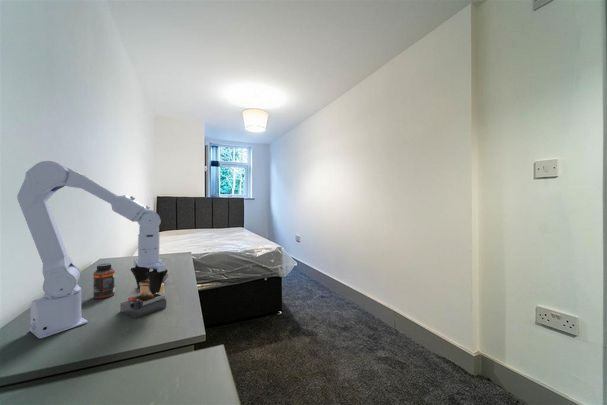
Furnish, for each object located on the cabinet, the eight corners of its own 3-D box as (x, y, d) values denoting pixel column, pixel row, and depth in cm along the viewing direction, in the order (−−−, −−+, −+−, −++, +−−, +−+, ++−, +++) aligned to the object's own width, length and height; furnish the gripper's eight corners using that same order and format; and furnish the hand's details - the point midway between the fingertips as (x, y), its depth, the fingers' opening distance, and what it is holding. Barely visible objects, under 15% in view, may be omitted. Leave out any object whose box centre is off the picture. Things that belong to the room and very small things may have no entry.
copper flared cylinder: (145, 304, 75) (145, 284, 74) (135, 301, 77) (135, 282, 77) (160, 298, 79) (160, 280, 79) (151, 295, 81) (151, 277, 81)
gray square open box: (135, 318, 71) (135, 302, 71) (120, 311, 75) (120, 296, 75) (166, 307, 78) (166, 292, 78) (150, 301, 83) (150, 287, 83)
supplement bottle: (119, 293, 90) (119, 262, 90) (104, 299, 84) (104, 266, 84) (104, 292, 90) (104, 262, 90) (88, 299, 84) (88, 266, 84)
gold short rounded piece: (149, 301, 83) (149, 289, 83) (139, 297, 86) (139, 286, 86) (168, 295, 88) (168, 284, 88) (158, 291, 92) (158, 281, 92)
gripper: (174, 248, 78) (174, 291, 78) (149, 244, 85) (149, 282, 85) (151, 252, 72) (151, 298, 72) (126, 247, 79) (126, 289, 79)
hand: (148, 290), depth 78 cm, fingers open, 7 cm apart
